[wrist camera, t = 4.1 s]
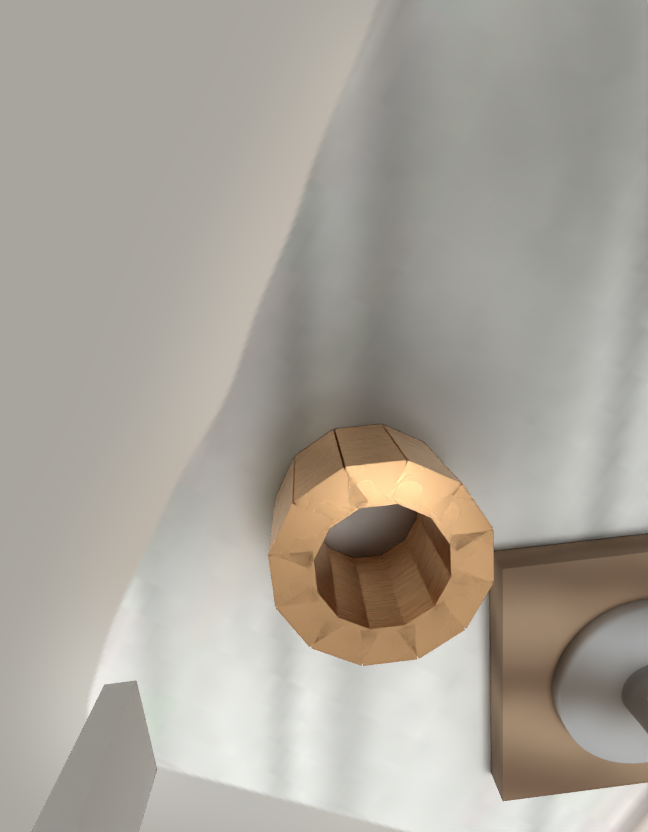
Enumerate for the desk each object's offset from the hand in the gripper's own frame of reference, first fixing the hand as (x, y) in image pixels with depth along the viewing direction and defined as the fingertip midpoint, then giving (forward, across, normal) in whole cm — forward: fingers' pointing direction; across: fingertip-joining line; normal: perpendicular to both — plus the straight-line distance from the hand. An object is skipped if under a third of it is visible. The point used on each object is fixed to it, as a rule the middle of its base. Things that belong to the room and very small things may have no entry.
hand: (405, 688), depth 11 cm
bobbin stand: (+10, +14, -10) cm, 20 cm away
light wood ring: (+10, +1, 0) cm, 10 cm away
